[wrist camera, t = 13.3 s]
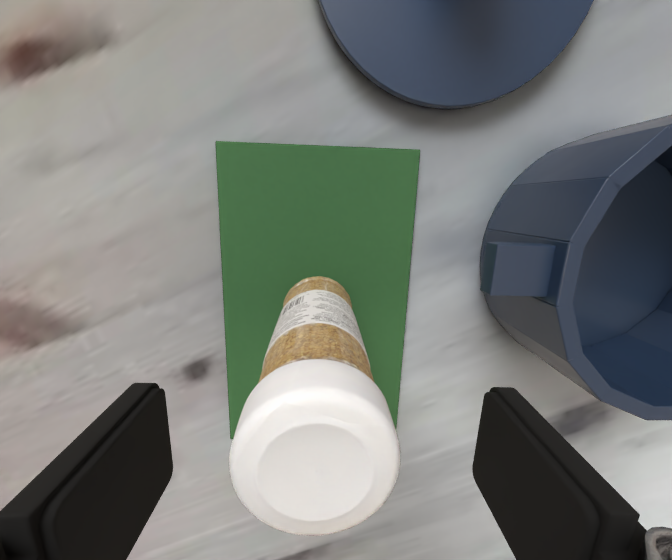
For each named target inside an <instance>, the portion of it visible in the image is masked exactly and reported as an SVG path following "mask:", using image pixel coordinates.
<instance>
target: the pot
mask: <svg viewBox="0 0 672 560" xmlns="http://www.w3.org/2000/svg"><path fill="white" fill-rule="evenodd" d="M480 276H481V288H480V290H481V291H483V292H484V295H485V298H486V301H487V304H488V306H489V308H490V310H491V312H492V314H493V315H494V317H495V318H496V319H497V321H498V322H499V323H500V325H501V326H502V327H503V328H504V329H505V330H506V331H507V332H508V333H509V334H510V335H511V336H512V337H513V338H514V339H515V341H517V342H518V343H519V344H521V345H522V346H524V347H525V348H526V349H528V350H529V351H531V352H532V353H534V354H535V355H536V356H538V357H539V358H541V359H542V360H543V361H545V362H546V363H548V364H549V365H551V366H552V367H553V368H555V369H556V370H558V371H559V372H560V373H562V374H563V375H565V376H566V377H568V378H569V379H570V380H572V381H573V382H575V383H576V384H577V385H579V386H580V387H582V388H583V389H585V390H586V391H587V392H589V393H590V394H592V395H593V396H594V397H596V398H597V399H599V400H600V401H602V402H605V403H607V404H609V405H612V406H614V407H616V408H619V409H621V410H624V411H626V412H628V413H631V414H633V415H635V416H638V417H640V418H642V419H645V420H672V115H669V116H665V117H661V118H657V119H653V120H649V121H645V122H641V123H637V124H633V125H629V126H625V127H621V128H617V129H613V130H609V131H605V132H601V133H597V134H593V135H591V136H588V137H586V138H583V139H580V140H578V141H575V142H571V143H568V144H566V145H563V146H561V147H559V148H557V149H554V150H552V151H550V152H548V153H547V154H546V155H544V156H543V157H541V158H539V159H538V160H537V161H535V162H534V163H533V164H532V165H530V166H529V167H528V168H527V169H525V170H524V171H523V172H522V173H521V174H520V175H519V176H518V177H517V178H516V179H515V180H514V182H513V183H512V184H511V185H510V187H509V188H508V189H507V190H506V192H505V193H504V194H503V196H502V197H501V199H500V201H499V202H498V204H497V206H496V207H495V209H494V211H493V213H492V216H491V218H490V220H489V222H488V225H487V228H486V231H485V234H484V238H483V243H482V248H481V256H480Z"/></svg>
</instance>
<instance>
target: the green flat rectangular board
mask: <svg viewBox="0 0 672 560" xmlns="http://www.w3.org/2000/svg"><path fill="white" fill-rule="evenodd" d="M419 158H420V150H413V149H389V148H366V147H342V146H318V145H295V144H271V143H247V142H224V141H216V161H217V181H218V201H219V220H220V240H221V260H222V280H223V300H224V319H225V339H226V359H227V379H228V399H229V418H230V438H231V439H233V438H234V435H235V431H236V428H237V425H238V422H239V418H240V415H241V413H242V410H243V407H244V405H245V402H246V400H247V398H248V397H249V395H250V393H251V392H252V391H253V389H254V388H255V387H256V385H257V384H258V382H259V379H260V375H261V372H262V368H263V362H264V358H265V355H266V352H267V349H268V346H269V343H270V340H271V337H272V335H273V332H274V329H275V327H276V324H277V321H278V318H279V316H280V313H281V311H282V309H283V303H284V300H285V297H286V295H287V293H288V292H289V290H290V289H291V288H292V287H293V286H294V285H295V284H296V283H298V282H300V281H301V280H303V279H306V278H309V277H317V276H321V277H326V278H330V279H332V280H334V281H336V282H338V283H339V284H340V285H341V286H343V287H344V289H345V290H346V292H347V293H348V294H349V296H350V300H351V304H352V310H353V312H354V315H355V318H356V321H357V324H358V327H359V330H360V333H361V336H362V340H363V343H364V346H365V349H366V353H367V356H368V359H369V363H370V370H371V373H372V376H373V380H374V383H375V384H376V385H377V386H378V388H379V389H380V390H381V392H382V394H383V395H384V397H385V399H386V402H387V405H388V408H389V411H390V414H391V417H392V420H393V423H394V426H395V429H396V425H397V414H398V402H399V390H400V379H401V367H402V356H403V344H404V332H405V321H406V309H407V297H408V286H409V274H410V263H411V251H412V239H413V228H414V216H415V204H416V193H417V181H418V170H419Z"/></svg>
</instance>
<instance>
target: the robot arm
mask: <svg viewBox="0 0 672 560" xmlns="http://www.w3.org/2000/svg"><path fill="white" fill-rule="evenodd" d="M172 472H173V462H172V453H171V444H170V435H169V425H168V416H167V407H166V398H165V391H164V390H163V389H159V386H158V384H156V383H134V384H132V385H131V386H130V387H129V388H128V389H127V390H126V391H125V392H124V393H123V394H122V395H121V396H120V397H119V398H117V399H116V400H115V401H114V402H113V403H112V404H111V405H110V406H109V407H108V408H107V409H106V410H105V411H104V412H103V413H102V414H101V415H100V416H99V417H98V418H97V419H96V420H95V421H94V422H93V423H92V424H90V425H89V426H88V427H87V428H86V429H85V430H84V431H83V432H82V433H81V434H80V435H79V436H78V437H77V438H76V439H75V440H74V441H73V442H72V443H71V444H70V445H69V446H68V447H67V448H66V449H64V450H63V451H62V452H61V453H60V454H59V455H58V456H57V457H56V458H55V459H54V460H53V461H52V462H51V463H50V464H49V465H48V466H47V467H46V468H45V469H44V470H43V471H42V472H41V473H40V474H39V475H37V476H36V477H35V478H34V479H33V480H32V481H31V482H30V483H29V484H28V485H27V486H26V487H25V488H24V489H23V490H22V491H21V492H20V493H19V494H18V495H17V496H16V497H15V498H14V499H13V500H12V501H10V502H9V503H8V504H7V505H6V506H5V507H4V508H3V509H2V510H1V511H0V560H126V559H127V557H128V555H129V554H130V552H131V550H132V548H133V546H134V545H135V543H136V541H137V539H138V537H139V535H140V534H141V532H142V530H143V528H144V526H145V525H146V523H147V521H148V519H149V517H150V516H151V514H152V512H153V510H154V508H155V507H156V505H157V503H158V501H159V499H160V497H161V496H162V494H163V492H164V490H165V488H166V487H167V485H168V483H169V481H170V479H171V476H172ZM473 476H474V479H475V482H476V484H477V486H478V488H479V489H480V491H481V493H482V495H483V497H484V499H485V501H486V503H487V505H488V507H489V508H490V510H491V512H492V514H493V516H494V518H495V520H496V522H497V524H498V526H499V527H500V529H501V531H502V533H503V535H504V537H505V539H506V541H507V543H508V545H509V546H510V548H511V550H512V552H513V554H514V556H515V558H516V560H672V529H671V528H666V527H654V528H651V529H649V530H648V531H647V530H646V529H645V528H644V527H643V526H642V525H641V524H640V523H639V522H638V519H639V516H640V515H639V514H638V513H637V512H636V511H635V510H634V509H633V508H632V507H631V505H630V504H629V503H628V502H627V501H626V500H625V499H624V498H623V497H622V496H621V495H620V494H619V493H618V492H617V491H616V490H615V489H614V488H613V487H612V486H611V485H610V484H609V483H608V482H607V481H606V480H605V479H604V478H603V477H602V476H601V475H600V474H599V473H598V472H597V471H596V470H595V469H594V468H593V467H592V466H591V465H590V464H589V463H588V462H587V461H586V460H585V459H584V458H583V457H582V456H581V455H580V454H579V453H578V452H577V451H576V450H575V449H574V448H573V447H572V446H571V445H570V444H569V443H568V442H567V441H566V440H565V439H564V438H563V437H562V436H561V435H560V434H559V433H558V432H557V431H556V430H555V429H554V428H553V427H552V426H551V425H550V424H549V423H548V422H547V421H546V420H545V419H544V418H543V417H542V416H541V415H540V414H539V413H538V411H537V410H536V409H535V408H534V407H533V406H532V405H531V404H530V403H529V402H528V401H527V400H526V399H525V398H524V397H523V396H522V395H521V394H520V393H519V392H518V391H517V390H516V389H514V388H511V387H493V388H491V390H490V392H487V393H485V395H484V400H483V406H482V412H481V418H480V424H479V431H478V437H477V443H476V449H475V455H474V461H473Z"/></svg>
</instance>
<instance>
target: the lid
mask: <svg viewBox="0 0 672 560" xmlns="http://www.w3.org/2000/svg"><path fill="white" fill-rule="evenodd" d="M593 1H594V0H318V3H319V5H320V8H321V10H322V13H323V15H324V18H325V20H326V23H327V25H328V27H329V28H330V30H331V32H332V34H333V36H334V38H335V40H336V41H337V43H338V44H339V46H340V47H341V49H342V50H343V51H344V53H345V54H346V56H347V57H348V58H349V60H350V61H351V62H352V63H353V64H354V65H355V66H356V67H357V68H358V69H359V70H360V72H361V73H363V74H364V75H365V76H366V77H367V78H369V79H370V80H371V81H372V82H373V83H374V84H376V85H377V86H379V87H380V88H382V89H384V90H385V91H387V92H388V93H390V94H392V95H394V96H396V97H398V98H400V99H403V100H405V101H407V102H410V103H414V104H418V105H421V106H425V107H432V108H440V109H454V108H465V107H471V106H477V105H480V104H484V103H487V102H490V101H493V100H496V99H498V98H500V97H502V96H504V95H506V94H508V93H510V92H512V91H514V90H516V89H517V88H519V87H520V86H522V85H524V84H525V83H527V82H528V81H530V80H531V79H533V78H534V77H535V76H536V75H538V74H539V73H540V72H541V71H542V70H544V69H545V68H546V67H547V66H548V65H549V64H550V63H551V62H552V61H553V60H554V59H555V58H556V57H557V56H558V55H559V54H560V53H561V52H562V51H563V49H564V48H565V47H566V45H567V44H568V43H569V41H570V40H571V39H572V38H573V36H574V35H575V34H576V32H577V30H578V29H579V27H580V25H581V24H582V22H583V20H584V19H585V17H586V15H587V13H588V11H589V9H590V7H591V5H592V3H593Z"/></svg>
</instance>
